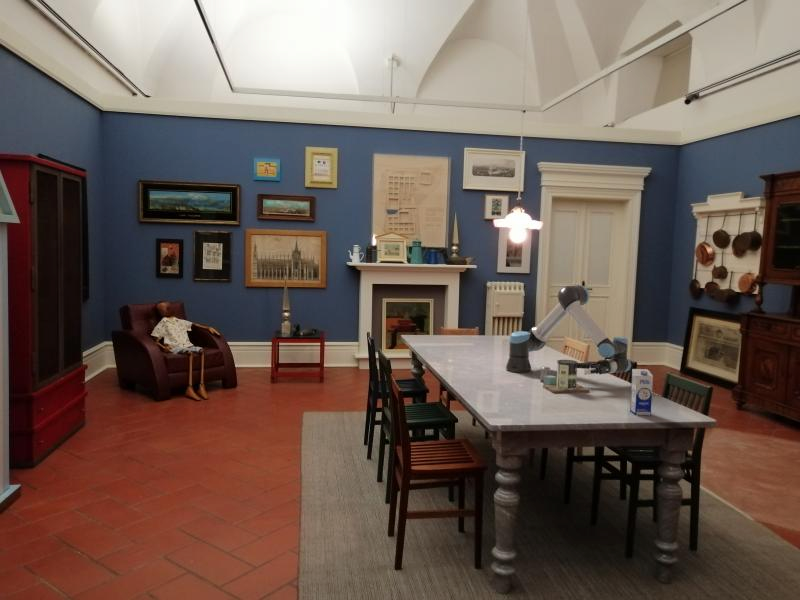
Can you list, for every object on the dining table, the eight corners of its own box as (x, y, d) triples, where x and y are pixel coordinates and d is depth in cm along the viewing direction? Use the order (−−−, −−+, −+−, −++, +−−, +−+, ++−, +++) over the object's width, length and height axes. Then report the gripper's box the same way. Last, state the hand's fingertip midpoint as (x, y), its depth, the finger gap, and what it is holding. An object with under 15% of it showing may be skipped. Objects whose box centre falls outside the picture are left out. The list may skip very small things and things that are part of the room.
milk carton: (645, 411, 264) (647, 368, 262) (651, 416, 257) (653, 372, 255) (629, 411, 264) (631, 368, 262) (635, 415, 257) (637, 371, 255)
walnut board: (542, 387, 308) (543, 385, 308) (577, 386, 312) (577, 384, 312) (553, 393, 295) (553, 391, 295) (589, 392, 299) (589, 390, 299)
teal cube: (543, 385, 314) (543, 376, 314) (550, 384, 316) (551, 375, 316) (549, 387, 310) (549, 377, 309) (556, 386, 312) (557, 377, 311)
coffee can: (575, 386, 307) (576, 360, 306) (577, 390, 297) (578, 363, 296) (555, 384, 309) (556, 358, 308) (556, 389, 299) (557, 362, 298)
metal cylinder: (538, 380, 324) (539, 366, 323) (546, 380, 325) (547, 366, 324) (542, 382, 319) (543, 368, 318) (550, 382, 320) (551, 368, 319)
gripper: (623, 378, 303) (592, 381, 294) (589, 368, 326) (559, 371, 317) (624, 364, 302) (593, 366, 293) (589, 355, 325) (560, 358, 316)
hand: (575, 369), depth 305 cm, fingers open, 13 cm apart
